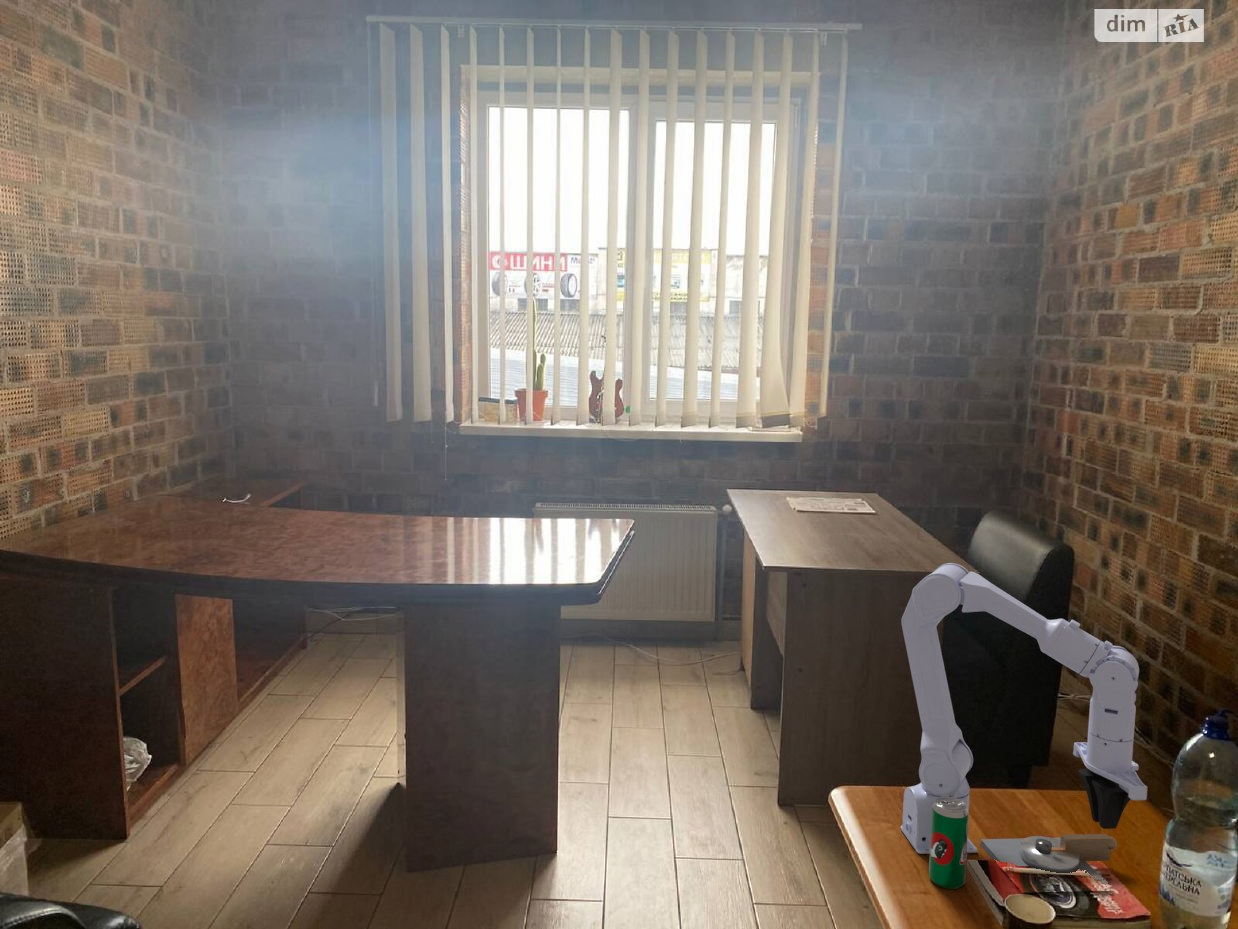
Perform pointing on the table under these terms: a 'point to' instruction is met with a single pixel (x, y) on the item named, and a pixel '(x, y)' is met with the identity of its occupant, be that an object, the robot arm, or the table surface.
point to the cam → (1066, 851)
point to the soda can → (948, 842)
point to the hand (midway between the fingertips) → (1104, 824)
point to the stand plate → (1011, 854)
